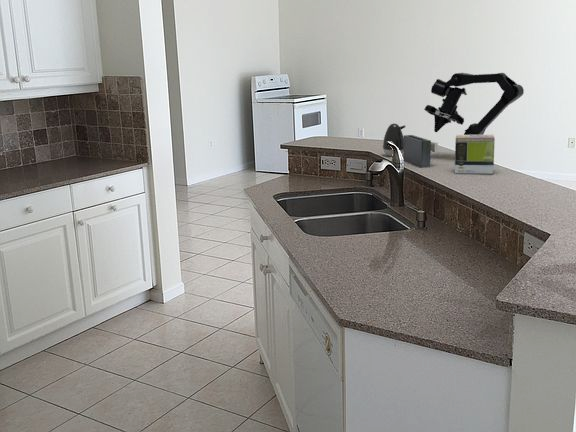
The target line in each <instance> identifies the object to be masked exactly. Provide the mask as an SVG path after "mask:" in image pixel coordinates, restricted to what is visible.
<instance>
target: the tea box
mask: <svg viewBox="0 0 576 432" xmlns="http://www.w3.org/2000/svg"><path fill="white" fill-rule="evenodd" d="M454 144H455V146H454V147H455V149H454V150H455V151H454V174H476V175H477V174H478V175H479V174H480V175H481V174H486V175H489V174H491V175H493V174H494V166H495V165H494V164H495V163H494V162H495V136H494V134H483V135H464V134H456V135H455V143H454Z"/></svg>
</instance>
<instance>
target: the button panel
mask: <svg viewBox="0 0 576 432" xmlns="http://www.w3.org/2000/svg"><path fill="white" fill-rule="evenodd" d="M403 137H404V144H403V153H402V155H403V157H402V159H403V158H404V160H403V161H404V162H407V163H409V164H412V165H414V166H416V167H418V166H419V168H431V154H432V151H431V142H432V140H429V139H427V138H424V137H420V136H417V135H414V134H408V135H407V134H406V135H405V134H403Z"/></svg>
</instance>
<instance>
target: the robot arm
mask: <svg viewBox="0 0 576 432" xmlns="http://www.w3.org/2000/svg"><path fill="white" fill-rule="evenodd" d="M483 83H484V84H486V83H487V84H488V83H496V84H498V86H499V87H500V88H501V90H502V91H503V93H502V94H501V96H500V98H499V100H498V101H497V102H496V103H495V105H494V106H492V108H490V110H489V111H488V112H487V113H486V114H485V115H484V116H483V117H482V118H481V119H480V120H479V121H478V123H476V122H475V123H471V124H470V125H469V126H468V127H467V128H466V129H465V130H464V133H463V135H485V132H486V129H488V127H489V126H490V125H491V124H492V123H493V122H494V121H495V120H496V119H497V118H498V117H499V116H500V114H502V113H503V112H504V110H505V109H506V108H507V107H508V106H510V105H511V104H513V103H514V102H516V101H517V100H519V99H520V98H521V97H522V96H523V95H524V93H525V90H524V87H523V86H522V85H521V84H518V83H517V82H516V81H514V80H513V79H511V78H510V77H509V76H508V75H507V74H506V73H505V72H498V73H482V74H472V73H466V72H458V73H454V74H453V75H452V76H451V77H450V79H448V80H447V81H443V80H442V79H440V78H437V79H436V81H435V82H433V85H431V89H430V90H431V91H430V92H431V94H433V95H437V96H438V97H441V98H442V104H441V106H438V108H436V107H435V106H433V105H429V104H428V105H426V106H424V107H425V108H424V109H423V110H424V111H425V112H426V113H428V114H429V115H432V116H434V129H433V131H434V133H438V132H439V131H440V130H441V129H442V128H443V127H444V126H445V125H447V124H449V123H452V122H453V123H456V124H458V125H463V124H464V122H465V119H464V117H462V116H461V115H460V114H459V112H458V110H457V109H458V103H459V101H460V98H461V96H462V95H464V96H467V95H468V94H467V90H466V88H465V87H464V86H467V85H472V84H483ZM461 87H462V88H461ZM444 97H445V98H444Z"/></svg>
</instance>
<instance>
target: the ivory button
mask: <svg viewBox="0 0 576 432" xmlns="http://www.w3.org/2000/svg"><path fill="white" fill-rule="evenodd" d="M438 145H439V143H438V142H437V141H431V153H432V152H433V153H438Z"/></svg>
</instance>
